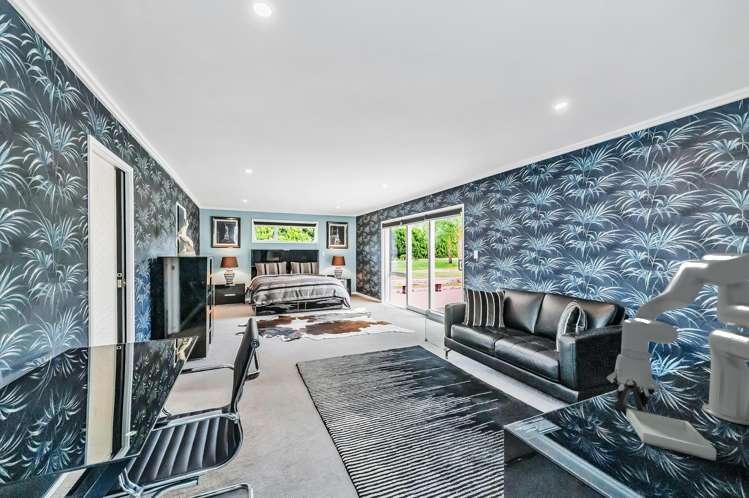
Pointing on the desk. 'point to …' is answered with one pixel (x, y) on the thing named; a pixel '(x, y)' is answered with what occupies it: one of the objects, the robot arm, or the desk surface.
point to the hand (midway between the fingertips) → (631, 402)
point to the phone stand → (637, 395)
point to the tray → (670, 434)
